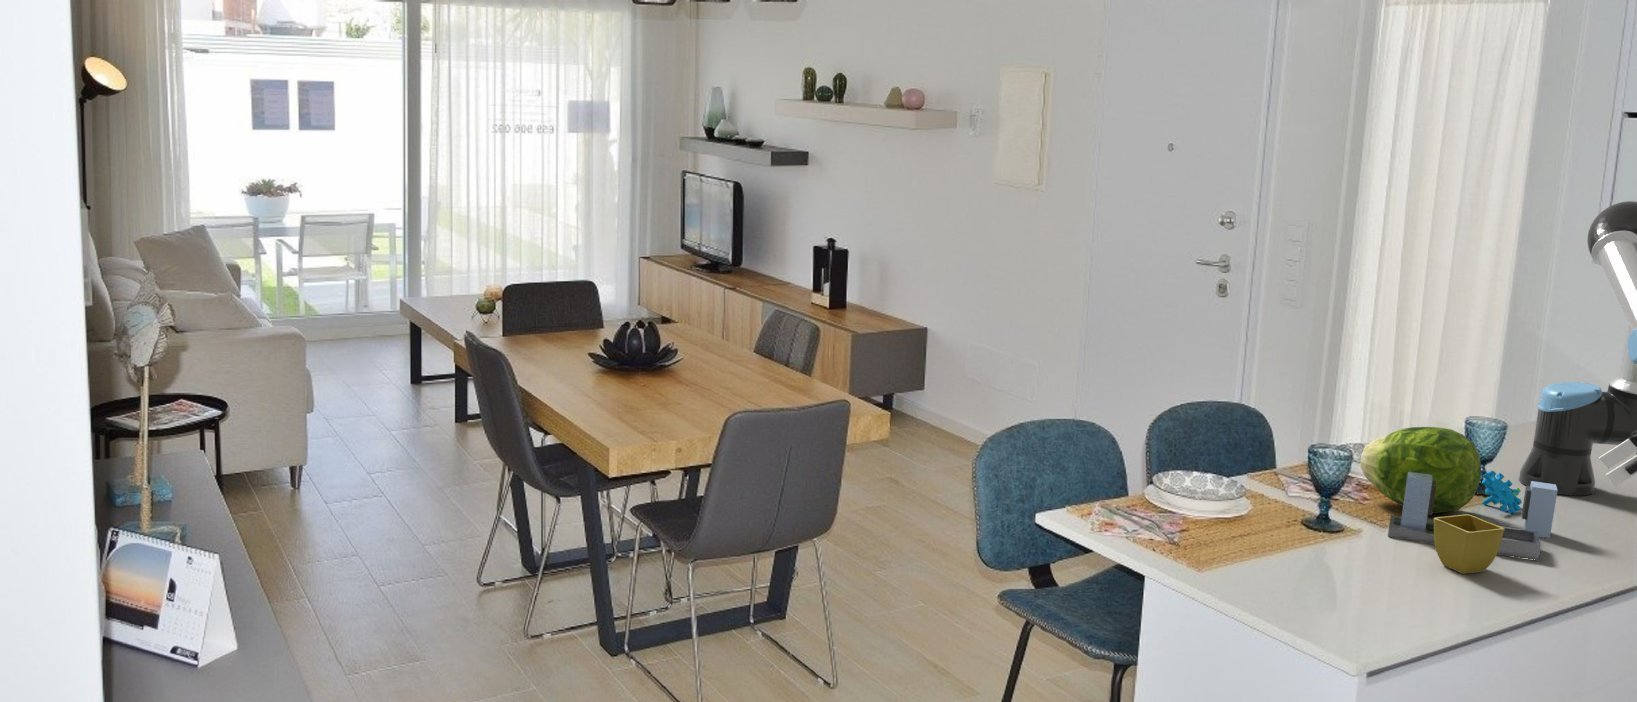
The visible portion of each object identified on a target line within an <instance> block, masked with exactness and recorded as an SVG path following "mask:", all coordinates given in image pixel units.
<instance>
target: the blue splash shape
mask: <svg viewBox="0 0 1637 702" xmlns="http://www.w3.org/2000/svg"><path fill="white" fill-rule="evenodd" d="M1482 477H1483V480H1482V481H1481V484H1482V486H1484V487H1486V488H1485V490H1484V492H1485V495H1486V496H1488V497H1487V498H1485V499H1484V500H1482V501H1481V503H1482V505H1483V506H1487V505H1488V504H1490V503H1491V502H1492V504H1493V505H1494V506H1495V505H1498V504H1501V505H1500V506H1499V510H1500V511H1502V512H1503V513H1505V512H1506V511H1507V513H1509V514H1510V515H1514V514H1516V512H1519V511H1520V510H1522V508H1521V506H1520V505H1521V504H1523V502H1522V499H1521V498H1519V497H1518V496H1519V495H1520V493H1521V489H1520V488H1519V487H1516V488H1515V489H1513V488H1511V487H1512V486H1513V483H1512V482H1511V479H1508V480H1505V481H1503V479H1505V476H1504V475H1503V473H1501V472H1499V473H1498V474H1497V473H1496V471H1494V470H1489V471H1488V472H1486V473H1485V474H1483V475H1482Z"/></svg>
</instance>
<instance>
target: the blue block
mask: <svg viewBox="0 0 1637 702" xmlns="http://www.w3.org/2000/svg"><path fill="white" fill-rule="evenodd" d="M1557 491H1558V490H1557V487H1556V484H1549V483H1542V482H1535V481H1531V484H1530V486H1526V485H1525V491H1524V496H1523V502H1522V508H1521V516H1522V517H1521V518H1522V520H1524V523H1523V530H1528V531H1535V532H1538V534H1539V536H1540V537H1539V538H1544V537H1547V538H1546V539H1550V538H1551V533H1552V527H1553V521H1554V516H1555V509H1556V502H1557V496H1558V494H1557Z"/></svg>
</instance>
